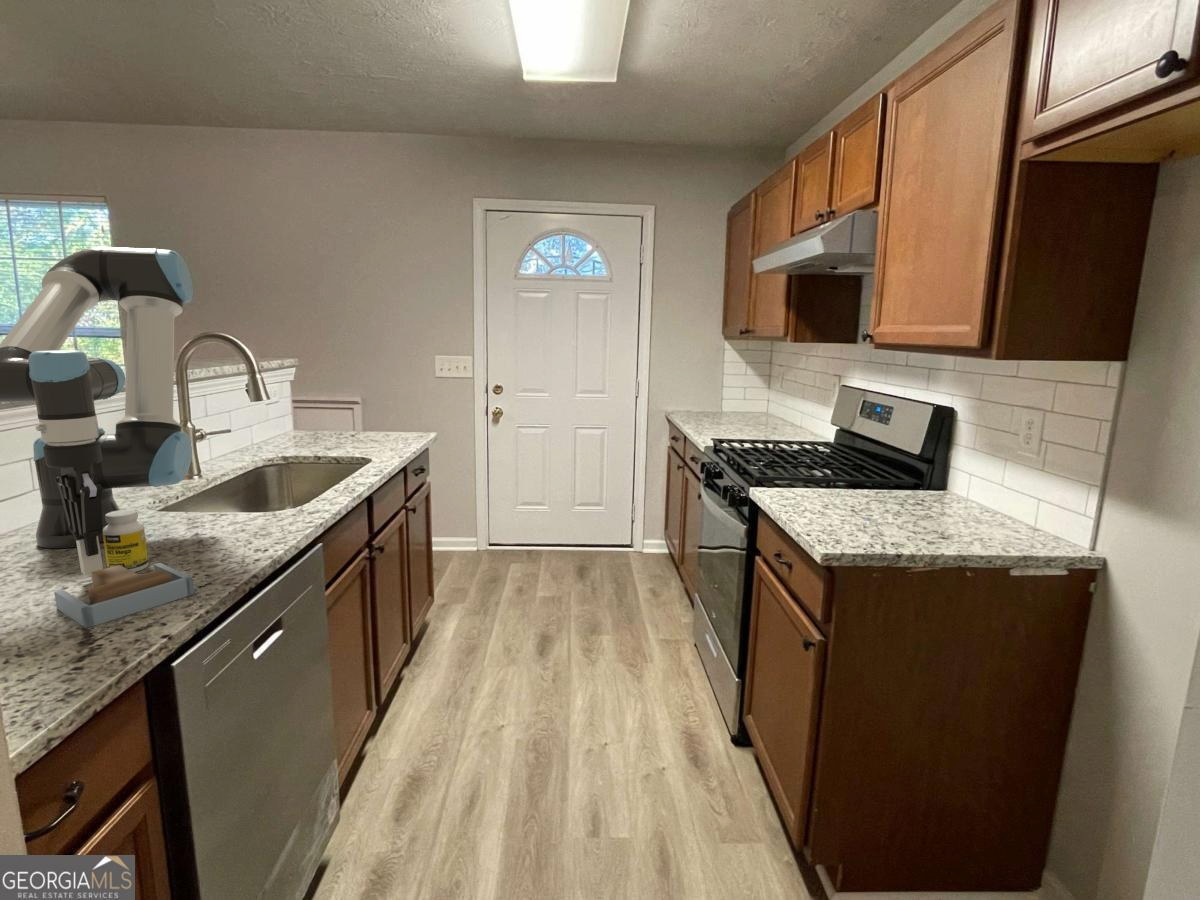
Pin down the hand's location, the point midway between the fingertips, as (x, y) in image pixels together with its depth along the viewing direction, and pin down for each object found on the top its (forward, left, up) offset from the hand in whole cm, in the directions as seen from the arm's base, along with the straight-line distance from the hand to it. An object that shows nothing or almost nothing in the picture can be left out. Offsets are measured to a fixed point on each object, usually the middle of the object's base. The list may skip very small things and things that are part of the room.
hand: (92, 571), depth 110 cm
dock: (+15, 0, -2) cm, 15 cm away
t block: (+13, 0, -2) cm, 13 cm away
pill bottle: (-1, +6, -2) cm, 6 cm away
